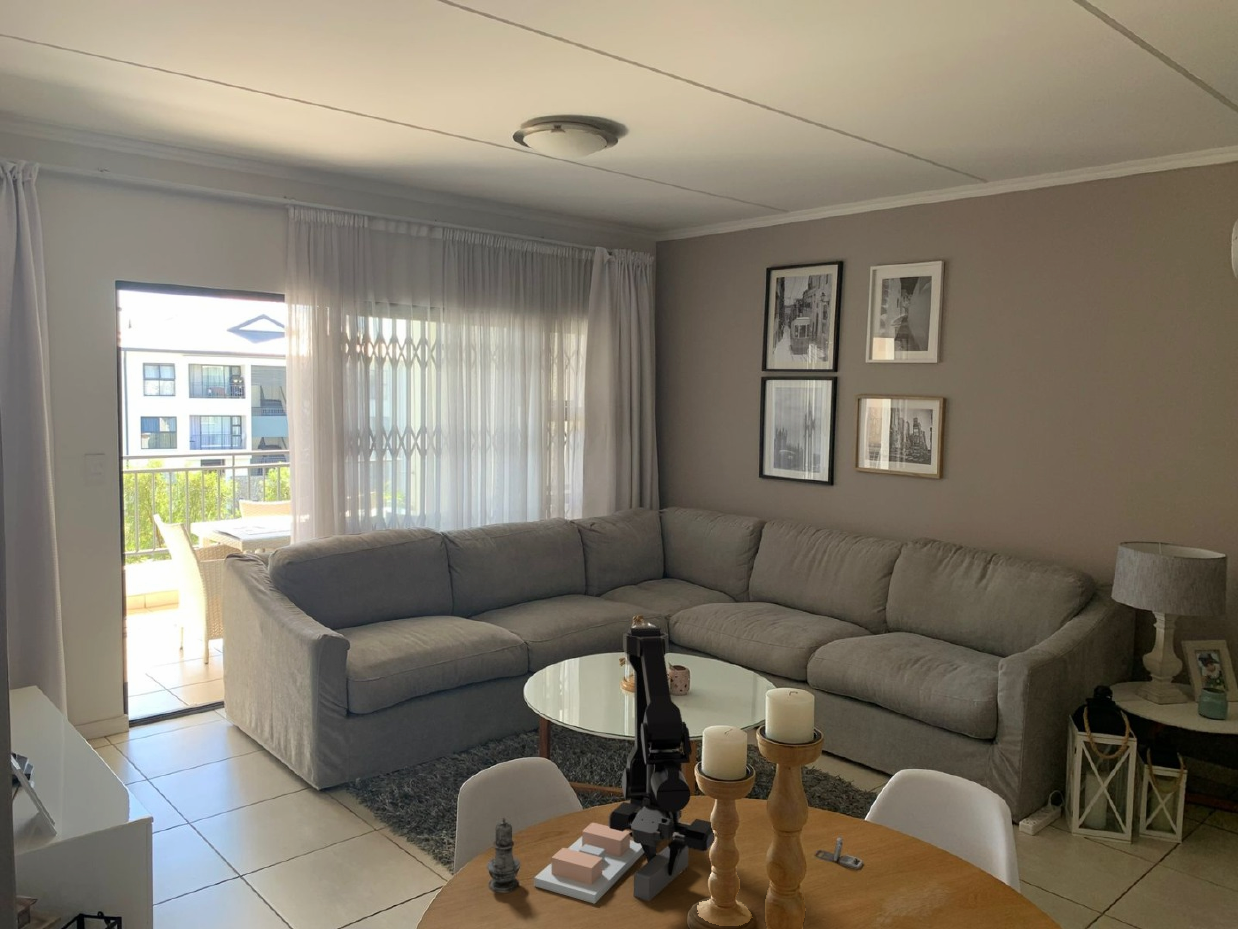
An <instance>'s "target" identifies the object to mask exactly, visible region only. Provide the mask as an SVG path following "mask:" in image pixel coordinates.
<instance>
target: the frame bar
mask: <svg viewBox="0 0 1238 929" xmlns="http://www.w3.org/2000/svg"><path fill="white" fill-rule="evenodd" d="M689 849H690V848H688V846H687V847H686V848H685V849H683V851H682V853H681V856H680V858H679V861H678V863H677V866H676V868H675V870H674V873H673V874H672V876H669V855H670V849H669V847H668V845H667V846H666V847H664V848H663V849H662V850H661V851H660V852H658V854H657V853H656V856H655V857H654V858H652V859H651V860H650V861H649V862H646V863H645V864H644V865H642V867H640V868H639V869H637V871H635V872H634V873H633V897H634V898H638V899H640V900H643V901H646V902H647V903H648V902H650V901H651V900H653V899H654V897H655V896H657V895H658V894H659V893H660V892H661V891H662V890H663V889H665V888H666V887H667V886H668V885H669V884H670V883H671V882H673V881H674V880H675V879H676V878H677V877H678V876H679V875H680V874H681V873H682V872H681V871H683V870H684V869H685V868H686V867H687V866H688V867H689ZM688 867H687V868H688ZM687 868H686V869H687ZM686 869H685V870H686ZM685 870H684V871H685ZM684 871H683V872H684ZM680 872H681V873H680ZM679 873H680V874H679ZM678 874H679V875H678ZM677 875H678V876H677ZM676 876H677V877H676ZM675 877H676V878H675ZM674 878H675V879H674ZM673 879H674V880H673ZM668 883H669V884H668Z"/></svg>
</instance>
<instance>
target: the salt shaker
mask: <svg viewBox="0 0 1238 929" xmlns="http://www.w3.org/2000/svg"><path fill="white" fill-rule="evenodd" d="M492 844H493V845H492V846H493V847H494V858H492V859H491V860H489V861H488V862H487V864H486V869H487V871H488V874H489V876H490V878H491V880H489V882H488V889H490V890H491V891H493V892H494V893H501V894H502V893H510V892H513V891H515V890H516V889H518V887H519V886H520V881H519V880H518V879H517V878H516V877H517V875H518V873H519V870H520V869H521V866H522V865H521V861H520V859H518V858H516V857H514V855H513V849H514V848H513V847H514V846H515V841H514V840H513V826H512V824H511V823H510V822H507V820H506V819H505V818H504V817H503V818H502V819H501V821H500V822H499V823H497V824H496V826H495V841H494V842H493V843H492Z"/></svg>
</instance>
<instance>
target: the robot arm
mask: <svg viewBox="0 0 1238 929" xmlns="http://www.w3.org/2000/svg"><path fill="white" fill-rule="evenodd" d="M622 636H623V637H622V648H623V649H622V650H623V652H624V653H625V656H626V659H627V661H628V663H629V664H630V666H631V668H632V670H633V674H634V675H633V678H634V680H633V682H634V684H633V685H634V686H633V688H634V690H633V691H634V695H633V696H634V745H633V747H632V748H631V750H630V752H629V754H628V755H627V757H626V768H624V769H623V774H622V777H621V786H622V787H621V790H622V794H623V798H624V800H628V799H629V802H624V801H623V802H622V803H620V804H619V805H618V806H616V808H615V809H614V810H612V811H611V812H610V813H609V816H608V826H609V827H610V829H614V830H618V831H624V830H625V831H627V829H631V831H630V838H632V839H633V840H632V841H634V842H635V843H638V844H641V846H642V848H643V851H644V853H643V854H644V856H645V859H646V863H648V862H649V861H650V860H651V859H652V858H654V857H655V856H656V855H657V853H658V851H657V848H658V847H659V845H660V844H661V842H663V841H668V842H669V841H670V842H669V843H668V844H667V846H668V847H669V849H670V855H669V876H672V874H673V873H674V870H675V868H676V866H677V863H678V861H679V858H680V856H681V853H682V851H683V849H685V848H686V847H687V846H688V848H689V849H692V850H696V851H700V852H704V851H705V852H706V851H708V850H709V848H710V847H711V846H712V845H713V844H714V842H715V841H714V833H713V831H712V828H711V821H708V820H703V819H699V818H695V819H694V820H693V821H692V822H691V823H688V822H680V819H681V817H682V813H683V812H682V810H683V809H685V808H686V806H688V804H689V802H690V800H691V790H690V786H689V784H688V782H687V780H686V778H685V776H684V773H683V772H682V764H690V762H691V760H690V756H691V755H692V744H691V738H690V730H689V727H688V726H687V723H686V722H685V721H683V719H682V714H681V708H680V707H678V706H677V705H676V704H675V703H674V701H672V697H671V690H670V684H669V678H668V670H667V665H666V658H665V656H666V655H667V654H668V653H669V634H668V633H666V632H665V631H663V632H661V628H660V626H650V627H649V626H647V627H646V626H645V627H644V626H643V627H641V626H640V627H639V626H638V627H629V628H628V632H626V633H623V634H622ZM681 747H682V751H673V750H680V748H681ZM672 837H673V838H672ZM713 841H714V842H713ZM712 843H713V844H712Z"/></svg>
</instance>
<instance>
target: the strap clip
mask: <svg viewBox="0 0 1238 929" xmlns="http://www.w3.org/2000/svg"><path fill="white" fill-rule="evenodd" d="M835 842H836V844H835V846H834V847H835V848H834V853H832V852H830V851H826V850H823V849H818V850H817V851H816V853H815V854H814V855H813V856H814V858H817V859H820V860H823V861H827V862H832V863H833V862H837V860H838V864H839V865H842V866H843V867H844V866H845V867H847V868H851V869H854V870H855V869H856V870H859V869H860V868H861V867H862V866H863V860H862V859H861V858H859V857H856V856H852V855H847V854H843V855H841V854H842V850H843V843H844V841H843V838H842V837H837V839H836V840H835ZM819 853H822V855H821V856H819ZM856 863H858V864H856Z"/></svg>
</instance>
